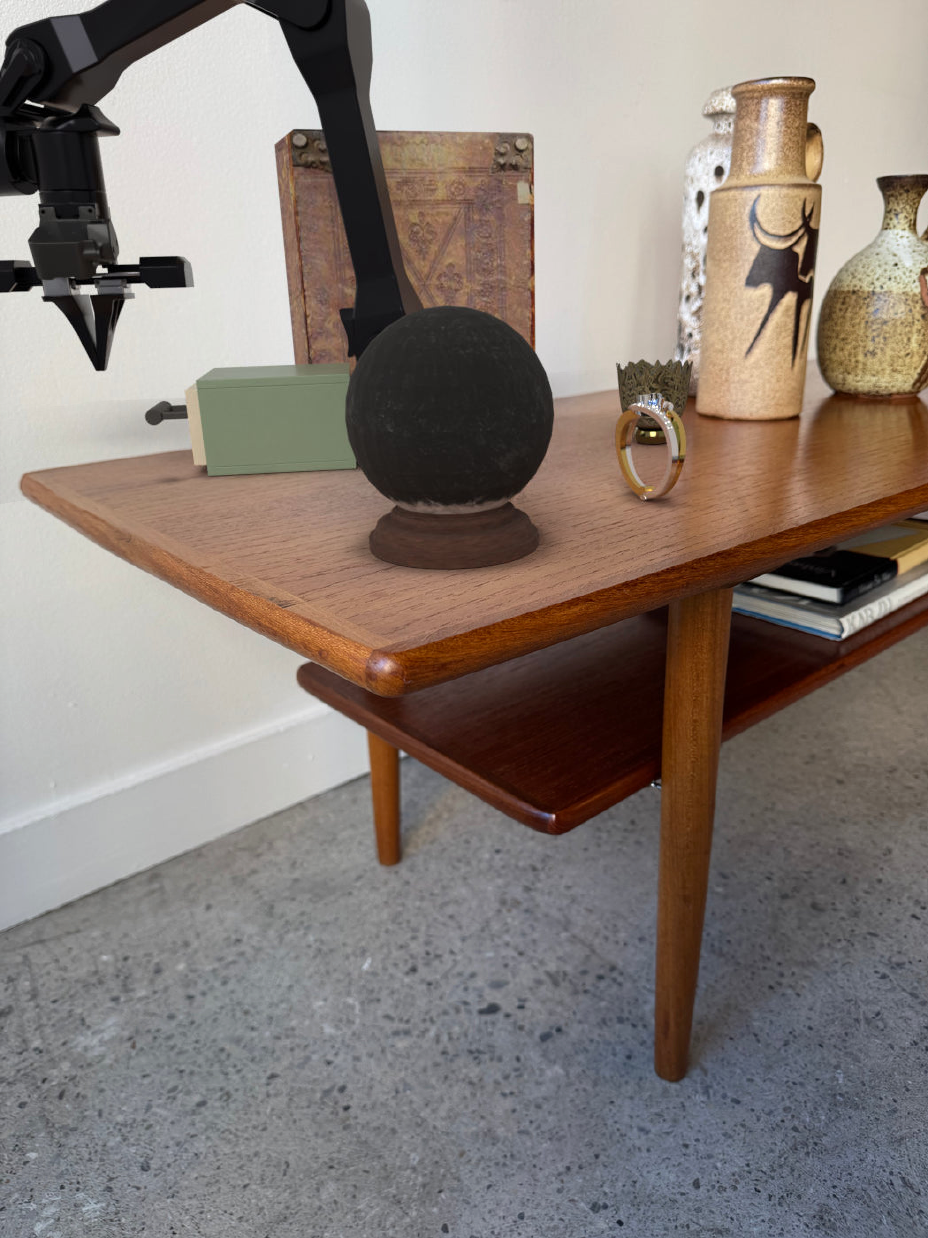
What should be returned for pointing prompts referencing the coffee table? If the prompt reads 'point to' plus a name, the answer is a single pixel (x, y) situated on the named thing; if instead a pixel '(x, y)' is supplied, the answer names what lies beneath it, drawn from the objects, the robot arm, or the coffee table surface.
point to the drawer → (183, 412)
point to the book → (413, 230)
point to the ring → (673, 437)
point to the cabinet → (275, 418)
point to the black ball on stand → (450, 436)
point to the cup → (656, 380)
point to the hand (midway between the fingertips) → (101, 370)
